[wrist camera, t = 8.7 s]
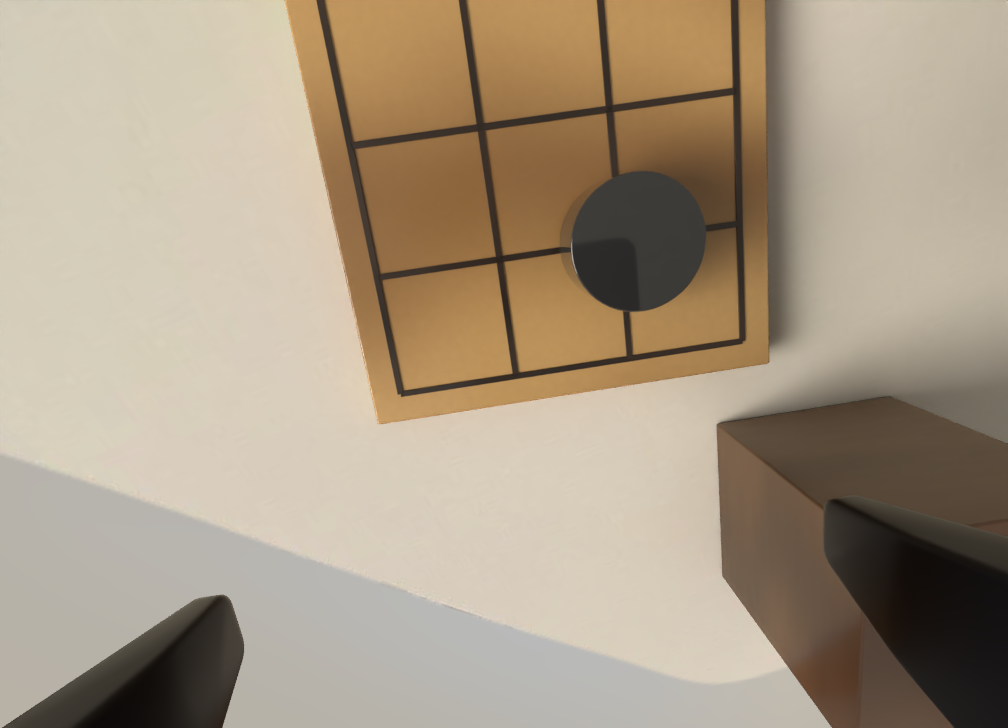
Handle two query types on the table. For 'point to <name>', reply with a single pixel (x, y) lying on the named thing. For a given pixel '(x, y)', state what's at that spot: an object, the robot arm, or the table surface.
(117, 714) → the robot arm
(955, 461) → the stone stand
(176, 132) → the table surface
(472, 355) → the board
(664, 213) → the game stone
